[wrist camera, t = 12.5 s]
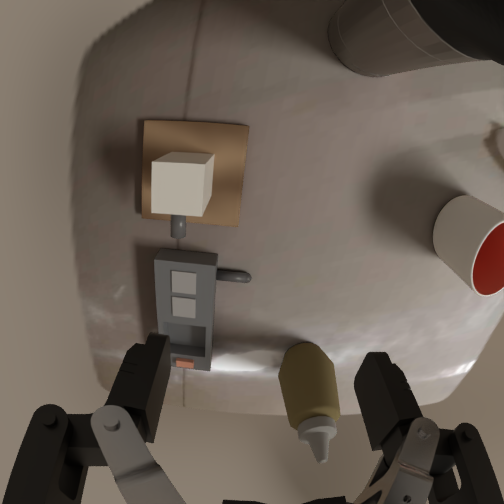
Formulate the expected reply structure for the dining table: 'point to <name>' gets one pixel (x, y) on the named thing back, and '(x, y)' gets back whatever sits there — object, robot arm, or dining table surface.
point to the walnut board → (200, 141)
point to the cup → (472, 243)
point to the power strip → (189, 303)
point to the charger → (181, 187)
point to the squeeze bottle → (310, 396)
